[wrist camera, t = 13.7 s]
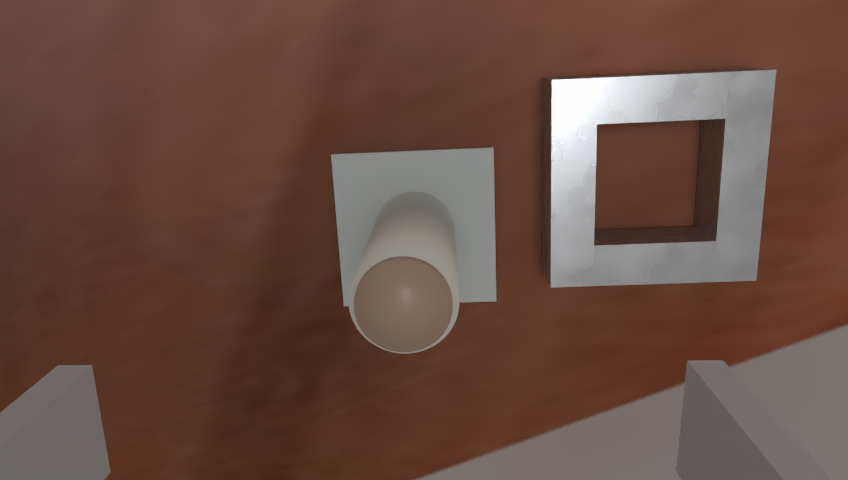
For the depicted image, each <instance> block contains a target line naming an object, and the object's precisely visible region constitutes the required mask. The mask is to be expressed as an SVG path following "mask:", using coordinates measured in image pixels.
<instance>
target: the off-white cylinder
mask: <svg viewBox="0 0 848 480" xmlns="http://www.w3.org/2000/svg"><path fill="white" fill-rule="evenodd" d="M349 310H350V314H351V318H352V320H353V322H354V324H355V326H356V328H357V329H358V331H359V332H360V333H361V334H362V335H363V336H364V337H365V338H366V339H367V340H368V341H369V342H371V343H372V344H374V345H375V346H377V347H379V348H381V349H384V350H386V351H390V352H394V353H415V352H420V351H423V350H426V349H428V348H430V347H432V346H434V345H436V344H437V343H439V342H440V341H441V340H442V339H444V338H445V336H446V335H447V334H448V333H449V332H450V330H451V329H452V327H453V325H454V323H455V321H456V318H457V315H458V311H459V290H458V274H457V259H456V244H455V229H454V222H453V218H452V216H451V213H450V212H449V210H448V208H447V207H446V206H445V205H444V204H443V203H442V202H441V201H440V200H439V199H437V198H436V197H434V196H432V195H430V194H427V193H423V192H406V193H402V194H400V195H397V196H395V197H394V198H392V199H391V200H389V201H388V202H387V203H386V204H385V205H384V207H383V208H382V209H381V211H380V213H379V215H378V218H377V220H376V223H375V225H374V228H373V230H372V233H371V235H370V238H369V241H368V243H367V246H366V248H365V251H364V253H363V256H362V258H361V261H360V263H359V266H358V269H357V271H356V274H355V276H354V279H353V281H352V284H351V287H350V291H349Z"/></svg>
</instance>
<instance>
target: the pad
mask: <svg viewBox="0 0 848 480" xmlns="http://www.w3.org/2000/svg"><path fill="white" fill-rule="evenodd" d="M331 161H332V173H333V184H334V196H335V208H336V220H337V232H338V243H339V255H340V267H341V279H342V291H343V302H344V306H349V291H350V287H351V284H352V281H353V279H354V276H355V274H356V271H357V269H358V266H359V263H360V261H361V258H362V256H363V253H364V251H365V248H366V246H367V243H368V241H369V238H370V235H371V233H372V230H373V228H374V225H375V223H376V220H377V218H378V215H379V213H380V211H381V209H382V208H383V207H384V205H385V204H386V203H387V202H388V201H389V200H391V199H392V198H394V197H395V196H397V195H400V194H402V193H406V192H423V193H427V194H430V195H432V196H434V197H436V198H437V199H439V200H440V201H441V202H442V203H443V204H444V205H445V206H446V207H447V208H448V210H449V212H450V213H451V216H452V218H453V222H454V229H455V244H456V259H457V274H458V290H459V303H460V302H490V301H496V251H495V195H494V148H493V147H485V148H461V149H438V150H414V151H390V152H367V153H343V154H331Z"/></svg>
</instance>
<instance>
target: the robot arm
mask: <svg viewBox="0 0 848 480" xmlns="http://www.w3.org/2000/svg"><path fill="white" fill-rule="evenodd" d="M682 408H683V409H682V418H681V429H680V438H679V448H678V458H677V469H676V470H677V473H678V474H679V476H680V478H681V480H833V479H832V478H831V477H830V476H829V475H828V474H827V473H826V471H825V470H824V469H823V468H822V467H821V466H820V465H819V464H818V463H817V462H816V461H815V459H813V457H812V456H811V455H810V454H809V453H808V452H807V451H806V450H805V449H804V448H803V447H802V445H801V444H800V443H799V442H798V441H797V440H796V439H795V438H794V437H793V436H792V435H791V434H790V433H789V431H788V430H787V429H786V428H785V427H784V426H783V425H782V424H781V423H780V422H779V421H778V420H777V418H776V417H775V416H774V415H773V414H772V413H771V412H770V411H769V410H768V409H767V408H766V407H765V405H764V404H763V403H762V402H761V401H760V400H759V399H758V398H757V397H756V396H755V395H754V394H753V392H752V391H751V390H750V389H749V388H748V387H747V386H746V385H745V384H744V383H743V382H742V381H741V380H740V379H739V378H738V376H737V375H736V374H735V373H734V372H733V371H732V370H731V369H730V368H729V367H728V365H727V364H726V363H725V362H724V361H723V360H705V361H687V367H686V377H685V388H684V397H683V407H682ZM109 473H110V467H109V461H108V455H107V449H106V444H105V438H104V432H103V426H102V421H101V415H100V409H99V403H98V397H97V392H96V386H95V380H94V374H93V368H92V365H58V366H57V367H55V368H54V369H53V370H52V371H50V372H49V373H48V374H47V375H46V376H44V377H43V378H42V379H41V380H39V381H38V382H37V383H36V384H35V385H33V386H32V387H31V388H30V389H29V390H27V391H26V392H25V393H24V394H22V395H21V396H20V397H19V398H18V399H16V400H15V401H14V402H13V403H11V404H10V405H9V406H8V407H7V408H5V409H4V410H3V411H2V412H0V480H105V478H106V477H107V476H108V475H109Z"/></svg>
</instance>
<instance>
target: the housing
mask: <svg viewBox="0 0 848 480" xmlns="http://www.w3.org/2000/svg"><path fill="white" fill-rule="evenodd" d="M775 79H776V70H774V69H750V68H745V69H724V70H702V71H681V72H659V73H638V74H616V75H595V76H573V77H552V78H543V90H542V270H543V272H544V274H545V276H546V279H547V281H548V283H549V285H550V287H580V286H610V285H639V284H669V283H698V282H728V281H756V279H757V268H758V258H759V247H760V237H761V226H762V215H763V205H764V194H765V184H766V173H767V163H768V152H769V142H770V131H771V121H772V110H773V100H774V89H775ZM684 120H701V127H700V142H699V157H698V172H697V187H696V202H695V217H694V226H681V227H654V228H628V229H601V230H594V227H595V186H596V145H597V124H615V123H638V122H661V121H684Z"/></svg>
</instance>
